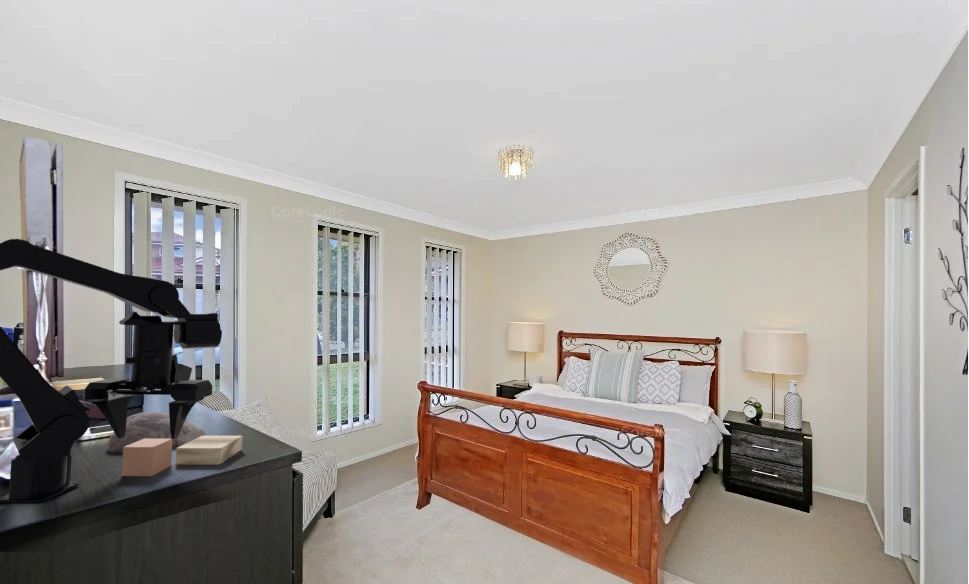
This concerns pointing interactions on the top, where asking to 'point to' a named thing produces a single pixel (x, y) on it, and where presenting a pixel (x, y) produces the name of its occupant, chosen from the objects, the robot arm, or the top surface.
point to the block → (146, 457)
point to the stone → (153, 431)
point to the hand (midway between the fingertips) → (147, 438)
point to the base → (208, 450)
